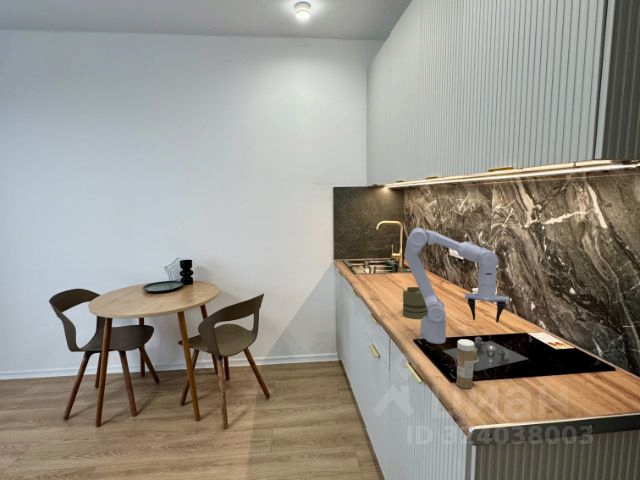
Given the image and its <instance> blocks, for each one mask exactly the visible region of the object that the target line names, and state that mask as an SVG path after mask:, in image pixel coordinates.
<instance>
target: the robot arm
mask: <svg viewBox="0 0 640 480" xmlns="http://www.w3.org/2000/svg"><path fill="white" fill-rule="evenodd" d="M426 244H428V246H429V245H434V244H435V245H436V244H437V245H440V246H442V247H445V248H448V249H450V250H453V251H456V252H457V255H458V256H459V257H462V258H464V259H466V260H468V261H470V262H473V263H476V264H477V263H479V266H478V267H479V268H478V269H479V270H478V283H477V293H469V292H467V293H466V292H465V293H464V300H465V301H467V304H468V306H469V308H470V311H471V312H470V313H471V314H472V315H471V316H472V321H473V320H474V321H475V320H476V301H480V302H481V301H483V302H492V303H497V304H496V317H495V318H496V319H495V322H496V323H499V319H500V317H501V314H502V312H503V310H504V309H505V308H506V305H508V304H510V297H509V296H503V295H502V296H501V295H497V294H496V288H497V285H496V283H497V282H496V281H497V266H498V265H499V259H498V256H497V254H496V253H495V252H493V251H492V250H490V249H489V248H488V249H487V248H486V247H480V246H478V245H476V244H474V242H472V241H470V240H469V241H463V242H459V241H456V240H455V239H452V238H450V237H448V236H445V235H443V234H440V233H438V232H436V231H432V230H431V229H430V230H429V229H425V228H422V227H415V228H413V229H412V230H411V232H410V233H409V235H408V237H407V240H406V245H405V249H404V250H405V251H404V254H403V255H404V258H405V261H406V262H407V265H408V266H409V269H410V272H411V273H412V276H413V278H414V279H415V282H416V284H417V287H419V289H420V291H421V293H422V296H423V298H424V301H425V304H426V306H427V309H428V315H427V316H425V317H423V318H422V319H420V331H419V332H420V336H418V339H419V340H422V339H425V340H426V341H427V342H428V343H431V344H435V345H436V344H439V345H440V344H444V343H445V342H446V340H447V339H446V336H447V335H446V334H447V332H446V331H447V318H446V315H447V314H446V310H445V304H444V302H443V301H442V300H441V299H439V297H438V295H437V294H436V292H435V290H434V288H433V286H432V285H433V284H432V283H431V281H430V279H429V277H428V275H427V272H426V270H425V268H424V266H423V264H422V262H421V259H420V257H419V254H420V252H421V250H422V248H423V247H425V245H426Z"/></svg>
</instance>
